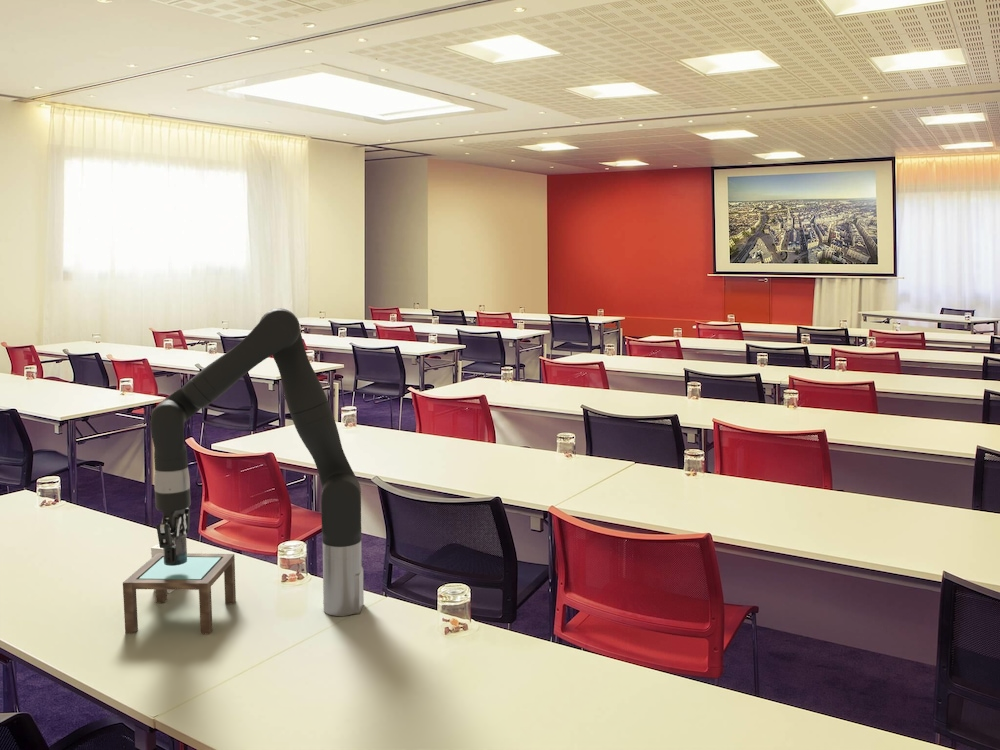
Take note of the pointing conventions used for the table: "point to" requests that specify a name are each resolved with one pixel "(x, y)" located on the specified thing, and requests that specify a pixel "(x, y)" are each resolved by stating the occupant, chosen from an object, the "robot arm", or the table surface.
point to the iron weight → (179, 550)
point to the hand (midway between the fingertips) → (175, 558)
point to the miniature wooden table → (162, 585)
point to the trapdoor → (182, 569)
